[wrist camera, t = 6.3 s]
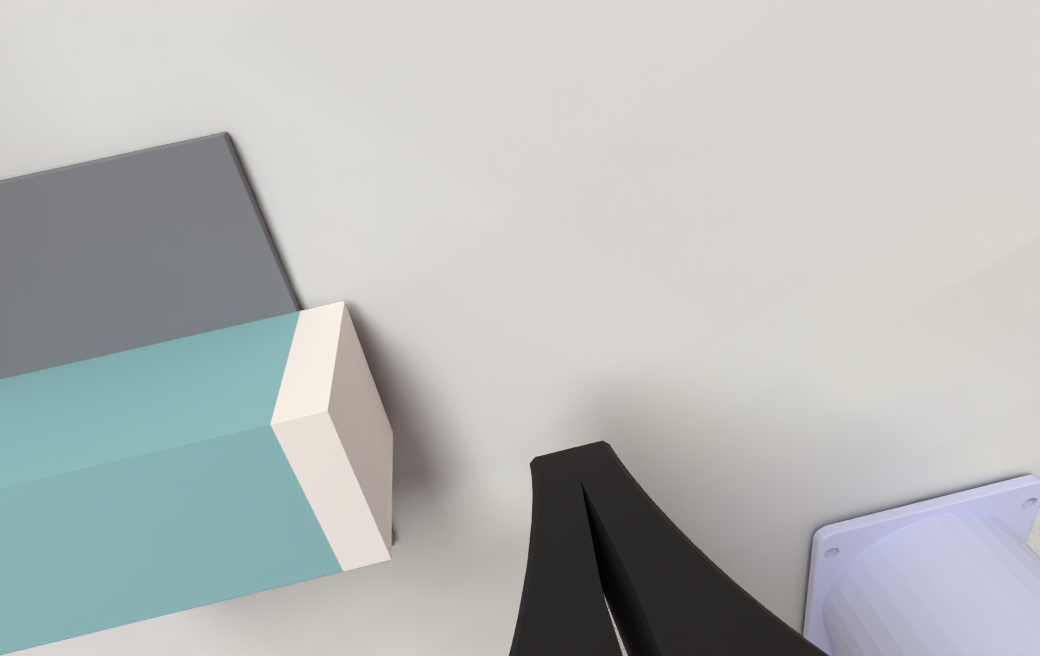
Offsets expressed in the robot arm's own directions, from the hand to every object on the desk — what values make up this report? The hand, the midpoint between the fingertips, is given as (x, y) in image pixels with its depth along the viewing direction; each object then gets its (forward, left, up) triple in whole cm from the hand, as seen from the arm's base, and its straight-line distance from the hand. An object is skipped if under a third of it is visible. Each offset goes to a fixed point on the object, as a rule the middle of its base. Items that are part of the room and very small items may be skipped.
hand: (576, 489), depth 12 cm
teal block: (0, +4, -3) cm, 5 cm away
